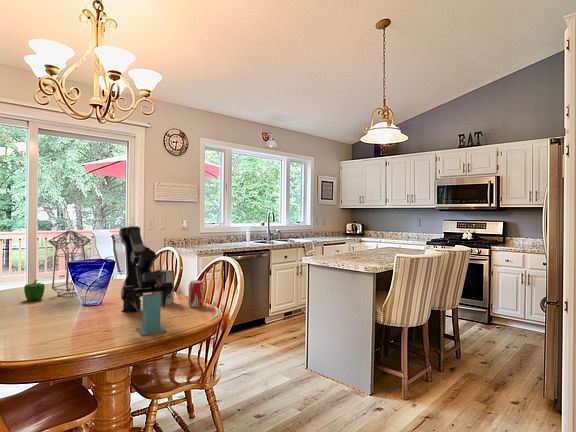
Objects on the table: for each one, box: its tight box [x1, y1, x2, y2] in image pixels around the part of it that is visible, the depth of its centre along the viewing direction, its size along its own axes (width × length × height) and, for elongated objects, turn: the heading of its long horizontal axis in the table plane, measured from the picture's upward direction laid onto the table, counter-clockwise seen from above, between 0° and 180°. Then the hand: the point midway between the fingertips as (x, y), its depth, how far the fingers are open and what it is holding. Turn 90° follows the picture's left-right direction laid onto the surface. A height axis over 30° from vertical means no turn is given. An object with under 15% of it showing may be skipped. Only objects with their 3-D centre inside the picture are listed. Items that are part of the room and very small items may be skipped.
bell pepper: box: [23, 278, 45, 302], centre depth 178 cm, size 8×8×10 cm
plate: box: [135, 324, 168, 337], centre depth 135 cm, size 9×9×1 cm
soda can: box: [188, 280, 205, 308], centre depth 172 cm, size 7×7×12 cm
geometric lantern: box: [46, 229, 92, 298], centre depth 188 cm, size 16×16×35 cm
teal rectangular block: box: [141, 293, 162, 332], centre depth 135 cm, size 5×5×13 cm
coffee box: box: [151, 269, 175, 306], centre depth 177 cm, size 9×6×16 cm
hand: (151, 309), depth 135 cm, fingers open, 9 cm apart
